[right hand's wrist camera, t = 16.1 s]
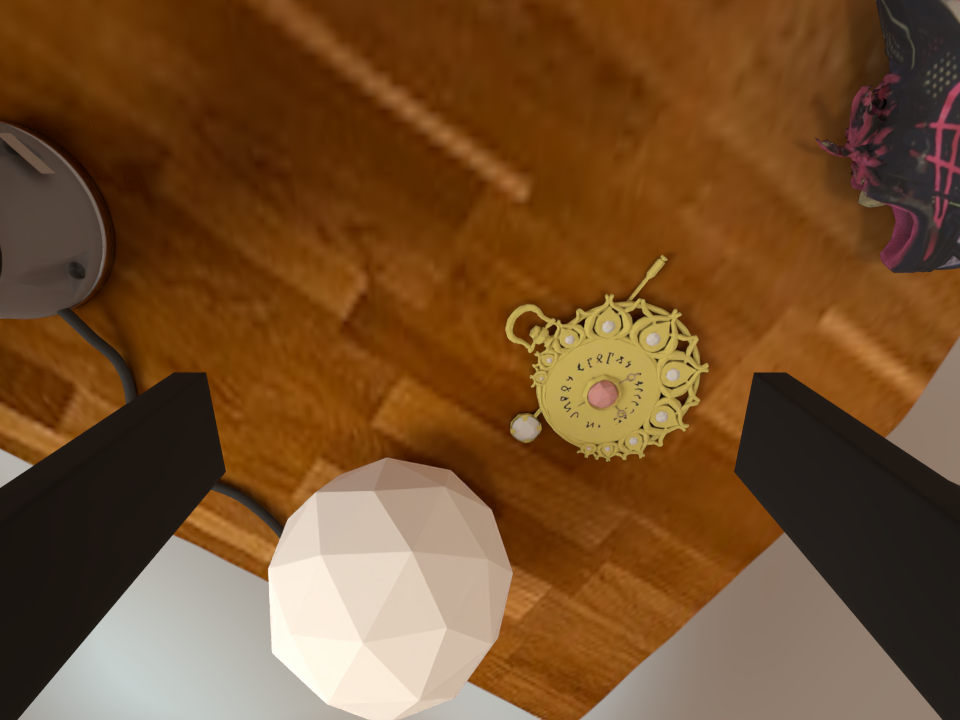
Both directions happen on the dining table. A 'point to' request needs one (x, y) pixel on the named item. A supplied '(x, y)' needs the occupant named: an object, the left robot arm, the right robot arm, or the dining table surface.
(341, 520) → the sphere
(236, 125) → the dining table surface
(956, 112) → the athletic shoe
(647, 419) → the decorative object
